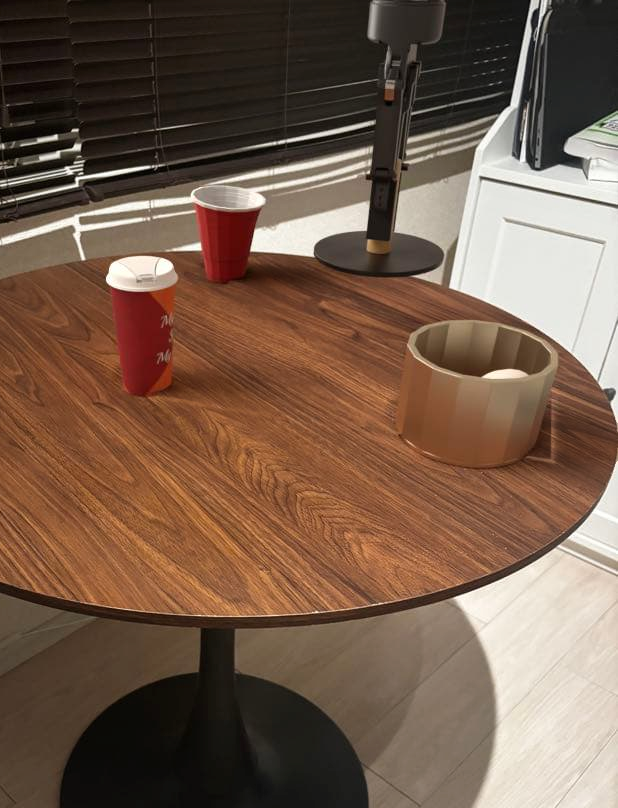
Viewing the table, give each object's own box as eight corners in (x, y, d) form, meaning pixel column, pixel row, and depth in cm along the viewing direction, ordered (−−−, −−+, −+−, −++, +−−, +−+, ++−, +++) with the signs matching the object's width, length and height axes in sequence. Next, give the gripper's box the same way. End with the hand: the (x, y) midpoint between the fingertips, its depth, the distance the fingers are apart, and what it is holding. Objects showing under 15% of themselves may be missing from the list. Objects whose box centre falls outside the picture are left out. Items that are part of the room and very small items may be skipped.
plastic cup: (251, 293, 117) (254, 207, 110) (181, 284, 120) (179, 200, 113) (271, 269, 125) (275, 187, 118) (205, 261, 128) (205, 181, 121)
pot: (535, 411, 90) (558, 330, 84) (532, 479, 79) (558, 391, 73) (405, 391, 94) (418, 312, 88) (385, 453, 83) (399, 368, 77)
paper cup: (186, 397, 92) (184, 275, 84) (119, 404, 91) (110, 281, 82) (173, 367, 98) (170, 251, 90) (110, 373, 97) (100, 256, 88)
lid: (448, 246, 101) (465, 149, 94) (435, 289, 90) (452, 182, 83) (327, 235, 105) (335, 141, 98) (299, 274, 94) (306, 171, 87)
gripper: (383, -11, 88) (360, 213, 103) (357, 1, 76) (335, 252, 91) (454, -9, 86) (420, 218, 101) (438, 2, 74) (402, 259, 89)
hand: (380, 234), depth 96 cm, fingers closed on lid, 3 cm apart
